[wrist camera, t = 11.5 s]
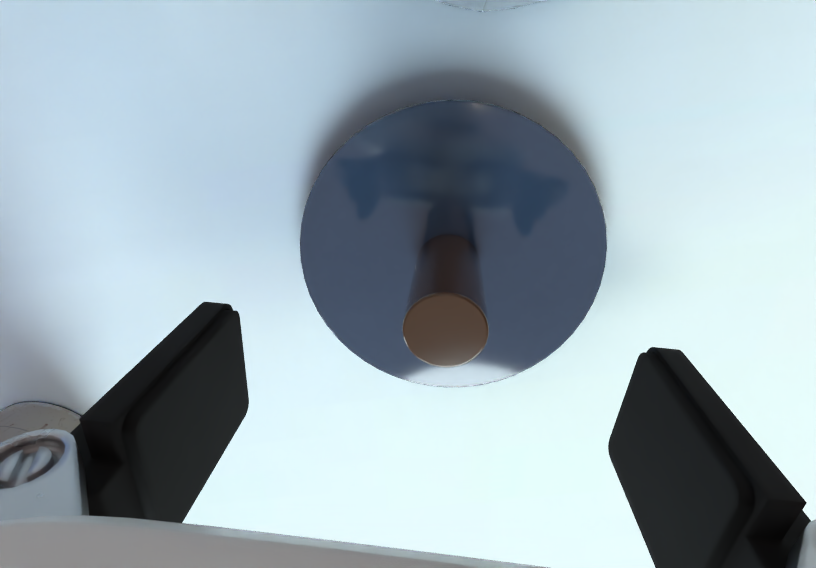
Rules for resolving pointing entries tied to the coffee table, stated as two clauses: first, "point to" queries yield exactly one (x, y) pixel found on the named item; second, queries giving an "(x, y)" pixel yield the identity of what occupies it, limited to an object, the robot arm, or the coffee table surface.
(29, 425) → the thermos bottle
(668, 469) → the robot arm
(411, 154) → the lid
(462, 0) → the crock
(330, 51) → the coffee table surface
